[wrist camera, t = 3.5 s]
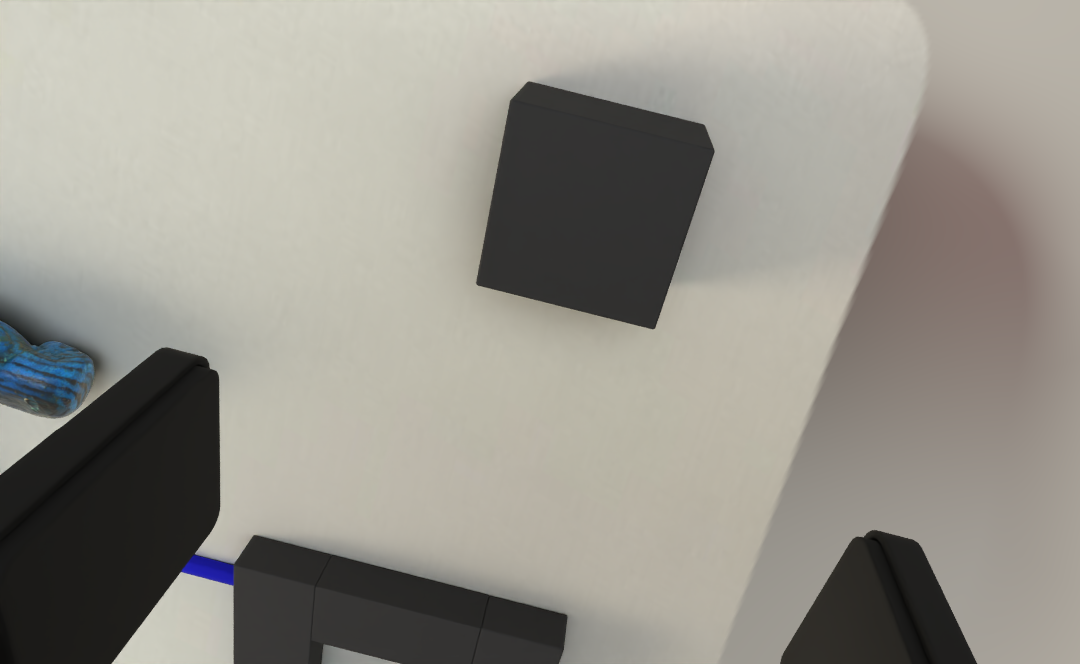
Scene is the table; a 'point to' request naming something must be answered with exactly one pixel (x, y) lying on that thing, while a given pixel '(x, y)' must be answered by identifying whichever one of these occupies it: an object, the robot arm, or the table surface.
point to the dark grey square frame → (375, 614)
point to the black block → (592, 203)
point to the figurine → (42, 375)
